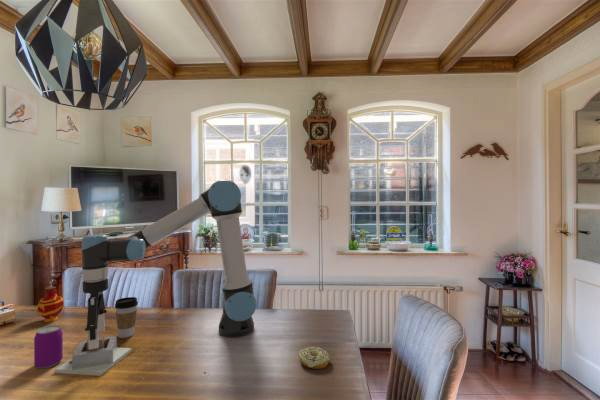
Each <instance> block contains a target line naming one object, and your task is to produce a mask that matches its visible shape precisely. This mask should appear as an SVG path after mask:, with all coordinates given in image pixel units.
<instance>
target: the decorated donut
mask: <svg viewBox="0 0 600 400" xmlns="http://www.w3.org/2000/svg"><path fill="white" fill-rule="evenodd" d="M329 354H330V353H328V351H327V350H326V349H324V348H321V347H316V346H308V347H305V348H303V349H301V350H300V351H299V354H298V358H299V362H300V363H301V364H302V365H303V366H304V367H306V368H307V369H308V368H309V369H312V370H321V369H325V368H326V367H327V366H328V365H329V363H330V359H331V358H330V355H329Z"/></svg>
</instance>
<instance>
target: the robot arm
mask: <svg viewBox="0 0 600 400" xmlns="http://www.w3.org/2000/svg"><path fill="white" fill-rule="evenodd" d="M241 199H242V193H241V188H240V187H239V186H238V184H236V183H235V182H234V181H232V180H230V179H220V180H217V181H215V182H213V183H212V184H211V185H210V187H209V188H208V189H207V190H205V191H203V192H202V193H200V194H199V197H198V198H196V199H194V200H193V201H190V202H189V203H187V204H185V205H184V206H182V207H180V208H178V209H177V210H175V211H173V212H171V213H170V214H167V215H165V216H164V217H163V218H160V219H158V220H157V221H155V222H153V223H151V224H149V225H148V226H146V227H144V228H142V229H141V230H139V231H137V232H136V233H134V234H131V235H129V236H128V237H125V238H124V239H109V238H108V236H107V235H106V234H89V235H85V236H84V237H82V239H81V249H80V251H81V268H82V269H81V270H82V271H80V275H82V280H83V282H82V292H83V293H84V294H90V295H89V297H88V299H87V318H86V319H87V320H86V328H84V331H85V332H87V340H88V348H89V350H90V349H95V348H98V347H99V343H98V335H99V334H100V333H104V332H106V330H105V328H106V326H105V324H106V323H105V322H106V321H105V319H106V318H105V314H107V311H108V310H107V309H106V305H105V297H104V296H105V295H104V291H107V290H108V289H109V279H108V277H109V264H108V263H109V262H110V263H111V262H121V261H123V262H125V261H131V262H132V261H138V260H143V259H144V258H145V256H146V250H147V249H149V248H150V247H152V246H154V245H155V244H158V243H159V242H161V241H162V240H165V239H166V238H168V237H170V236H171V235H174V234H175V233H177V232H179V231H180V230H182V229H184V228H185V227H187V226H189V225H191V224H193V223H194V222H196V221H197V220H199V219H202V218H203V217H205V216H207V215H211V218H212V219H214V220H215V221H216V227H217V233H218V234H217V235H218V240H219V247H220V254H221V255H220V256H221V262H222V268H223V273H224V275H223V276H224V278H223V280H222V284H221V288H222V313H221V314H222V315H221V318H220V319H219V324H218V333H219V335H221V336H224V337H228V338H238V337H244V336H247V335H249V334H251V333H252V332H254V329H255V322H254V319H253V315H254V314H255V312H256V309H257V299H256V297H255V292H254V287H253V281H252V280H253V279H251V278H250V277H249V276H248V271H247V266H246V259H245V258H246V257H245V252H244V251H245V250H244V245H243V236H242V229H241V224H240V216H241V215H242V213H243V209H242V201H241Z"/></svg>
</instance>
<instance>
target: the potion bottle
mask: <svg viewBox="0 0 600 400" xmlns="http://www.w3.org/2000/svg"><path fill="white" fill-rule="evenodd" d="M56 288H57V286H55V285H54V286H48V287H45V291H44V293H45V294H46V296H45V297H42V298H41V299H40V300H39V301H38V304H37V305H36V307H37V308H36V309H37V315H38V316H41V317H42V318H44V321H43V322H44V323H50V322H55V321H57V320H58V317H57V316H58V315H59V314H60V313H61V312H62V311H63V308H64V307H65V300H64V298H63V297H62V296H61V295H58V294H56V292H57V289H56Z"/></svg>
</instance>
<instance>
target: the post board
mask: <svg viewBox="0 0 600 400" xmlns="http://www.w3.org/2000/svg"><path fill="white" fill-rule="evenodd" d="M104 338H105V334H98V343H99V347H98V348H95V349H90V350H89V348H88V339H86V340H87V351H91V350H97V349H103V348H104ZM132 351H133V349H132V348H131V347H118V346H117V349H116V353H115V357H114V360H113V363H107V364H102V365H97V366H91V367H86V368H80V369H75V370H72V358H70V359H69V360H67V361H65V362H64V363H62V364H60V365H59V366H57V367H56V368H54V373H55V374H68V375H81V376H97V377H101V376H102V375H103V374H105V373H106V372H108V371H109V370H110V369H111V368H113V367H114V366H116V364H118V363H119V362H120V361H122V360H123V359H124V358H125V357H127V356H128V355H129V354H130V353H132Z"/></svg>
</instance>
